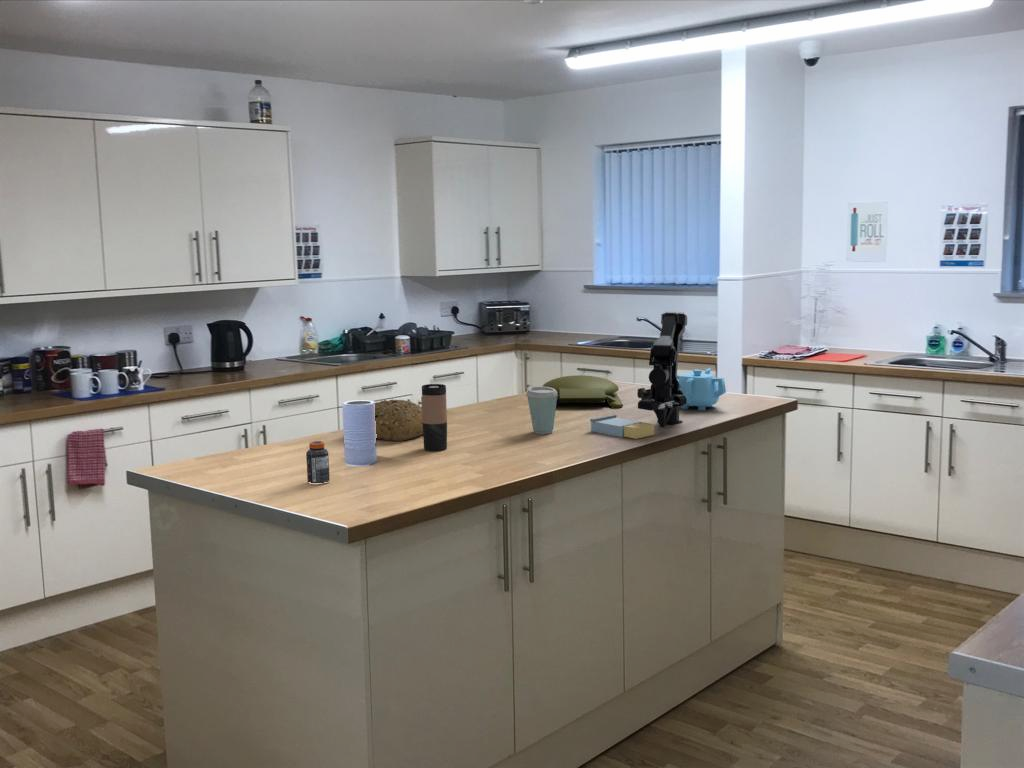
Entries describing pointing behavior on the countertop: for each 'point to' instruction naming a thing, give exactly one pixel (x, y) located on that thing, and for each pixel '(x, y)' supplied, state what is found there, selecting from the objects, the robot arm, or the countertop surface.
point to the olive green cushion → (585, 390)
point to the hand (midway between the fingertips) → (662, 427)
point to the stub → (639, 430)
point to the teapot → (701, 388)
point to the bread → (398, 420)
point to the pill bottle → (317, 463)
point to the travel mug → (434, 417)
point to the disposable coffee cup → (542, 408)
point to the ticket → (610, 425)
